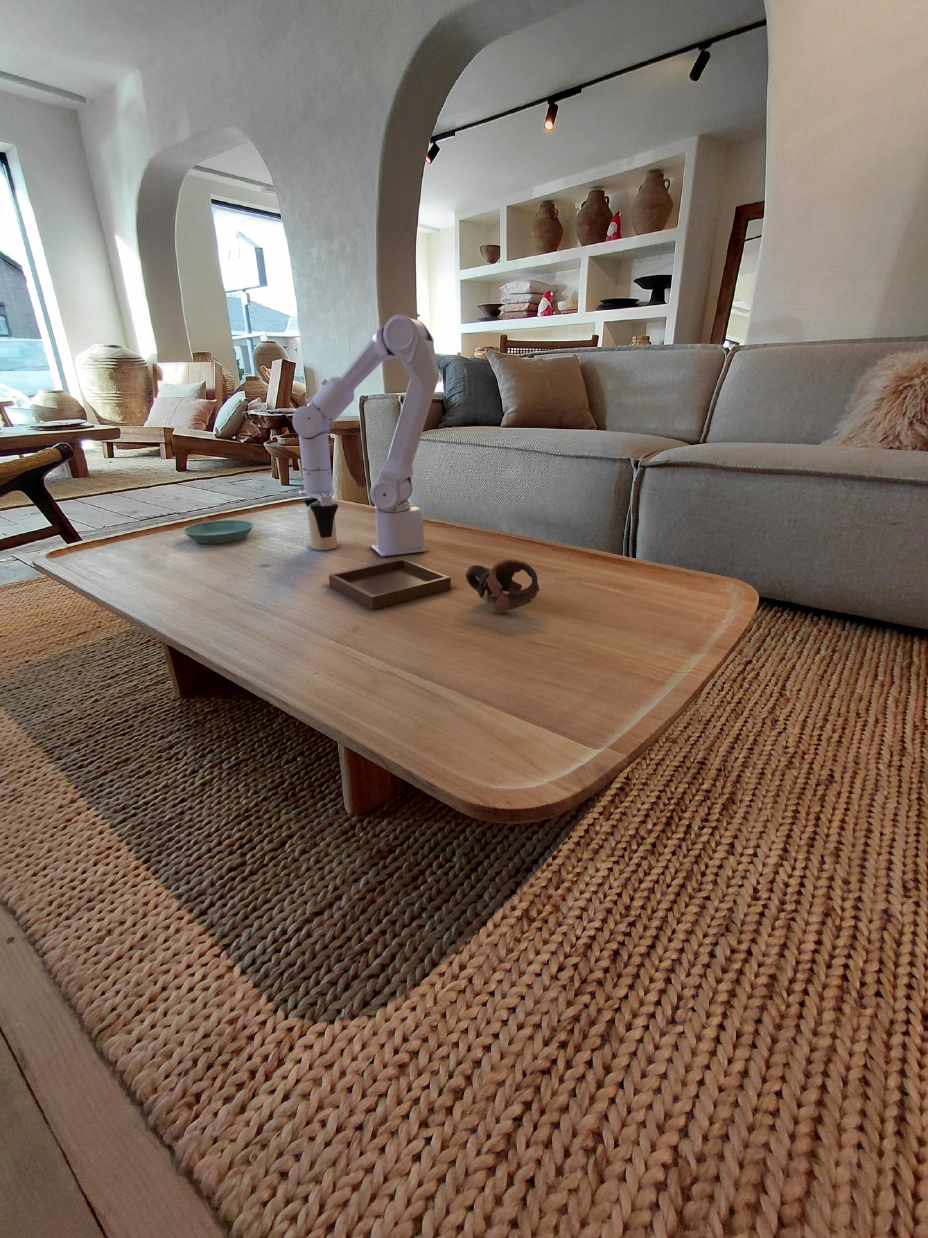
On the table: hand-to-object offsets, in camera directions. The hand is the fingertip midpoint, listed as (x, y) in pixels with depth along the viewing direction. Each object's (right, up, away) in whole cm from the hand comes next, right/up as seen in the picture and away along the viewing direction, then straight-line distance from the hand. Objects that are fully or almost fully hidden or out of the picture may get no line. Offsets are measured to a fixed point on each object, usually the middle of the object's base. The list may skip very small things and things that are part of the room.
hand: (323, 533), depth 123 cm
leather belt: (+36, -16, -30) cm, 50 cm away
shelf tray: (+17, -13, -23) cm, 32 cm away
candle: (0, -3, +1) cm, 3 cm away
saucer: (-25, 0, +8) cm, 26 cm away
